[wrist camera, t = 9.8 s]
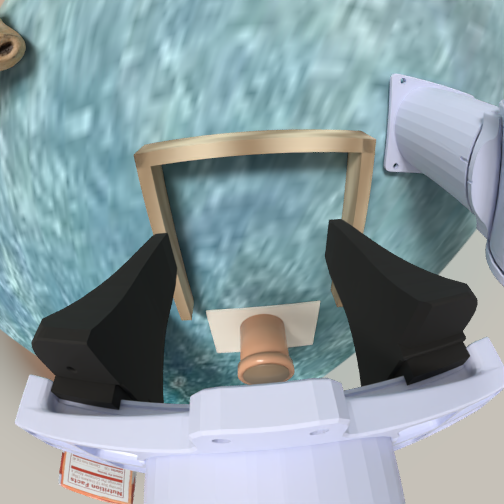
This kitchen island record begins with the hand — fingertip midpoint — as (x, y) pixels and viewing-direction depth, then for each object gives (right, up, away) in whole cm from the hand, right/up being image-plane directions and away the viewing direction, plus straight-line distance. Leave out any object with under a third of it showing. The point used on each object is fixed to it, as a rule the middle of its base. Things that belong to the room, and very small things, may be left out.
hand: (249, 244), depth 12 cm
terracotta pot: (+1, -9, +18) cm, 20 cm away
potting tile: (+1, -9, +19) cm, 21 cm away
